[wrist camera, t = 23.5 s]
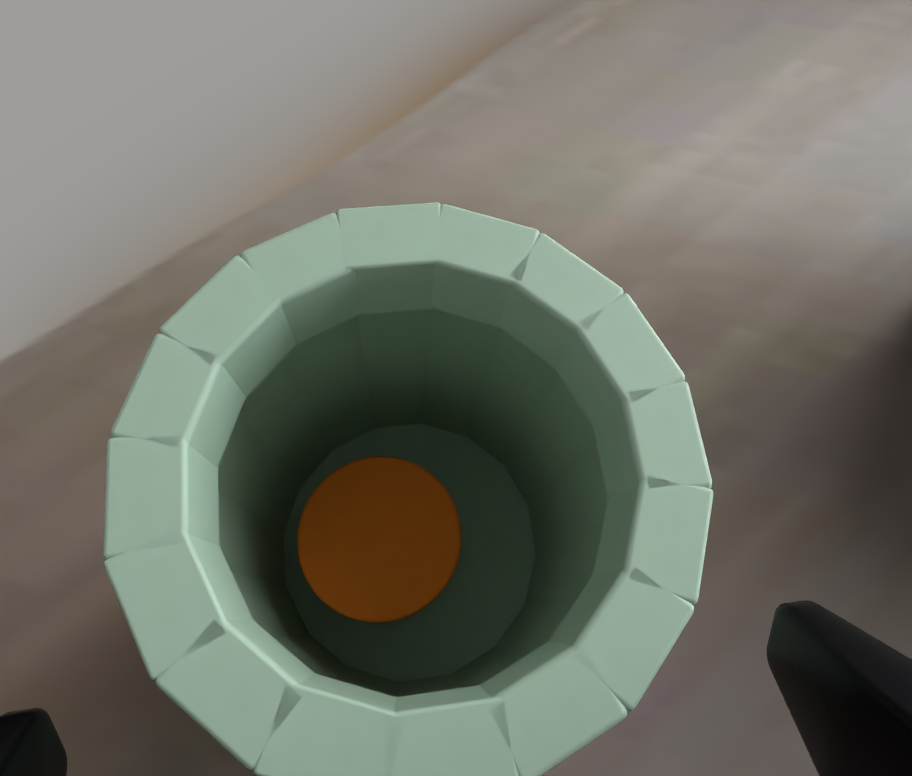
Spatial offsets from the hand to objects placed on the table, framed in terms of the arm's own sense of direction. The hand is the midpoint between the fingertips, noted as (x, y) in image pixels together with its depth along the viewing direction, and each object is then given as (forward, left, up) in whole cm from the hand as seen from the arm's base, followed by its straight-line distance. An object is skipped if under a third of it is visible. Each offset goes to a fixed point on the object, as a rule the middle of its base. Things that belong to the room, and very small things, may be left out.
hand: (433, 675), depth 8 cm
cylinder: (+2, +1, -9) cm, 9 cm away
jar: (+2, 0, -9) cm, 10 cm away
